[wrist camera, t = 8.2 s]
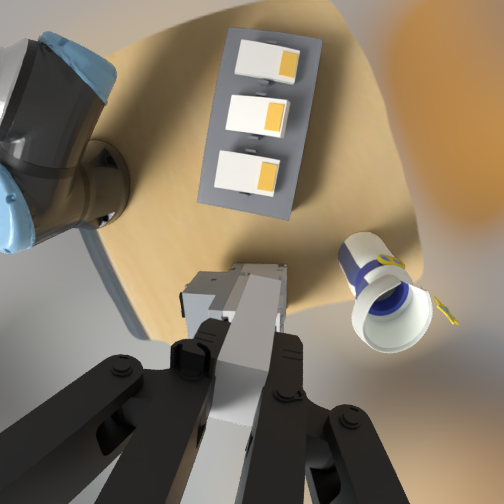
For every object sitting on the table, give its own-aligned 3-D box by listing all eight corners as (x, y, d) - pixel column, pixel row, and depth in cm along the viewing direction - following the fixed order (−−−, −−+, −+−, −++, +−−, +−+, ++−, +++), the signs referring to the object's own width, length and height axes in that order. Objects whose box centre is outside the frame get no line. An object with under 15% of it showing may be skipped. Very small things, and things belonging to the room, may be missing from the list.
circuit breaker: (196, 262, 48) (157, 305, 34) (287, 264, 46) (282, 313, 32) (200, 304, 50) (167, 357, 36) (286, 308, 48) (280, 367, 34)
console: (207, 195, 45) (190, 204, 37) (235, 42, 37) (223, 22, 29) (289, 212, 44) (288, 224, 36) (319, 53, 36) (323, 34, 28)
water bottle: (343, 221, 43) (392, 300, 19) (395, 236, 42) (477, 320, 19) (327, 273, 46) (350, 386, 22) (377, 285, 45) (432, 396, 22)
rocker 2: (230, 130, 35) (224, 129, 34) (236, 96, 34) (231, 94, 33) (283, 138, 33) (279, 137, 32) (290, 102, 32) (286, 99, 30)
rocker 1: (234, 74, 32) (234, 71, 30) (241, 42, 30) (241, 38, 29) (292, 84, 32) (294, 82, 31) (298, 53, 31) (300, 50, 30)
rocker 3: (215, 185, 36) (213, 187, 35) (220, 150, 35) (219, 150, 34) (272, 195, 37) (273, 197, 36) (278, 159, 35) (280, 160, 34)
